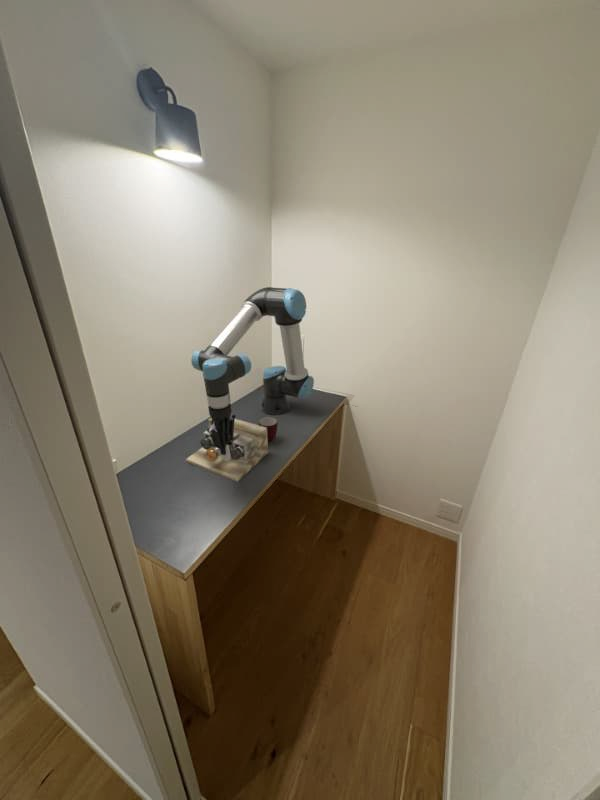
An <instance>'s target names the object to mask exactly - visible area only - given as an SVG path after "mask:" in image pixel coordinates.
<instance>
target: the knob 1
mask: <svg viewBox="0 0 600 800" xmlns="http://www.w3.org/2000/svg"><path fill="white" fill-rule="evenodd" d="M199 444H200V445H201V448H202V447H203V448H204V449H206V450H208V449H209V448H211V447H212V444H214V443H213V440H212V438H211V436H209V437H207V438H206V437H205V438H202V439H200V443H199Z"/></svg>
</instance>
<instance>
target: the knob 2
mask: <svg viewBox="0 0 600 800" xmlns="http://www.w3.org/2000/svg"><path fill="white" fill-rule="evenodd" d="M243 453H244V447H243V446H237V447H234V448H232V449H231V450H230V456H231V457H232V458H233V459H234V460H239V459H240V458H241V457H242V454H243Z"/></svg>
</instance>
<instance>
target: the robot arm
mask: <svg viewBox="0 0 600 800" xmlns="http://www.w3.org/2000/svg"><path fill="white" fill-rule="evenodd" d="M240 308H241V309H240V310H238V312H237V313H236V314H235V316H233V318H232V319H231V320H229V322H228V323H227V324H226V326H224V327H223V329H222V330H221V331H220V332H219V333H218V334H217V336H216V337H215V338H214V339H213V340H212V341H211V343H209V345H208V346H207V347H206V348H205V349H204V350H203V349H201V350H196V351H194V352H193V354H192V355H191V359H190V361H191V365H192V367H193V369H195V370H197V371H199V372H200V371H201V372H202V377H203V381H204V386H205V387H204V388H205V393H206V400H207V405H208V406H207V407H208V413H209V416H210V418H212V422H211V424H212V426H211V428H209V427H208V428H207V429H206V431H207V432H209V433H210V435H211V438H212V440H213V443H214V445H215V447H216V448H219V449H220V451H221V454H222V459H223V460H225V461H228V462H229V461H230V460H231V457H230V445H232V442H230V441H231V440H233V436H234V420H235V419H236V414H233V412H232V405H231V395H230V388H229V387H230V386H229V384H232V383H233V382H235V381H236V380H238V379H240V378H242V377H243V378H244V377H245V376H246V375H247V374H249V373H250V372H251V370H252V362H251V359H250V358H249V357H248V356H247V355H245V354H242V353H241V354H236V355H234V356H230V355H229V354H230V352H231V351H232V350H234V348H235V346H236V345H238V343H239V342H240V341H241V340H242V338H243V337H244V336H245V335H246V333H247V332H248V331H249V330H250V328H251V327H252V326H253V325H254V324H255V322H259V321H260V320H261V319H262V318H263V317H265V316H268V317H274V320H275V324H276V325H277V326H279V330H280V336H281V342H282V347H283V348H282V349H283V354H284V361H285V366H286V367H285V366H283V365H282V366H281V365H276V366H270V367H267V368H265V369H264V370H263V372H262V376H263V377H262V381H263V382H262V383H263V399H262V401H261V406H260V407H261V411H262V413H265V415H271V416H278V415H283V414H286V413H288V412H289V411H290V402H289V400H288V396H290V397H294V398H296V399H304V400H306V399H307V398H309V396H310V395H311V393H312V391H313V387H314V383H315V379H314V377H313V376H311V375H309V371H308V369H307V368H306V367H305V363H304V362H305V360H304V352H303V345H302V335H301V328H300V324H301V323H302V321H303V318H304V317H305V315H306V312H307V311H306V310H307V301H306V297H305V295H304V294H303V292H301V291H300V290H299V289H295V288H286V287H285V288H284V287H282V288H281V287H273V286H272V287H271V286H268V287H263V288H260V289H258V290H256V291H255V292H254V293H252V294H250V295H249V296H248V297H247V298H246V299H245V300H244V301H243V302H242V303H241V306H240ZM216 431H217V432H216Z"/></svg>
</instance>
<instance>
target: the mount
mask: <svg viewBox="0 0 600 800" xmlns="http://www.w3.org/2000/svg"><path fill="white" fill-rule="evenodd" d="M207 421H208V422H207V423H208V428H211V426H212V424H211V422H212V418H211V417H209V418H208V419H207ZM216 432H217V431H216ZM209 436H211V435H210V433H209V432H207V430H205V431H204V432H203V437H204V438H205V437H206V438H207V437H209ZM230 442H232V445H230V450H231V449H232V448H234V447H237V446H243V447H244V453H243V454H242V457H241V458H240V459H239V460H234V459H233V458H232V457H231V456H230V457H231V460H230V461H229V462H228V461H225V460H223V459H222V454H220V455H219V456H218V459H217V460H215V461H214V462H212V461H210V460H209V459H208V458H207V457H206V452H207V451H208V450H209V449H213V448H215V445H214V444H212V447H211V448H209V449H208V450H206V449H204V448H203V447H202V446H201V448H199V449H198V450H196V451H195V452H194V453H192V454H191V455H190V456H188V457H186V459H185V462H186V463H188V464H191V465H194V466H196V467H199V468H201V469H204V470H206V471H209V472H212V473H214V474H217V475H219V476H221V477H225V478H227V479H230V480H232V481H235V482H239V481H240V480H242V478H243V477H245V475H246V474H248V473H249V471H251V470H252V469H253V468H254V467H255V465H257V464H259V462H260V461H261V460H262V459H263V458H264V457H265V456H266V455H267V454H269V446H268V445H269V443H268V439H267V428H266V427H263V426H259V424H255V423H251V422H249V421H245V420H241V419H237V418H235V420H234V436H233V440H231V441H230Z"/></svg>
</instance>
